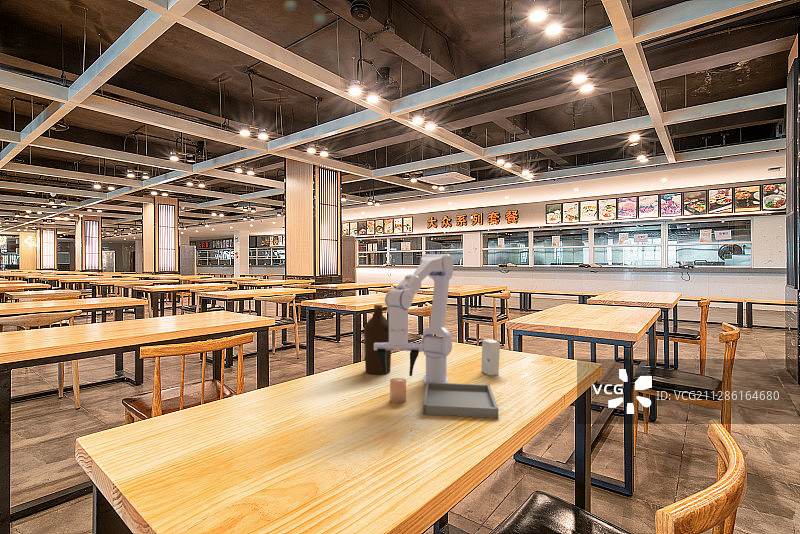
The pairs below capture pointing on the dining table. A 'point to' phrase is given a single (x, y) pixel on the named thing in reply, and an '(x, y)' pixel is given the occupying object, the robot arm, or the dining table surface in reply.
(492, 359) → the skincare box
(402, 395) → the pink rounded cylinder
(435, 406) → the tray
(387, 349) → the robot arm
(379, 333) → the olive oil
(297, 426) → the dining table surface
